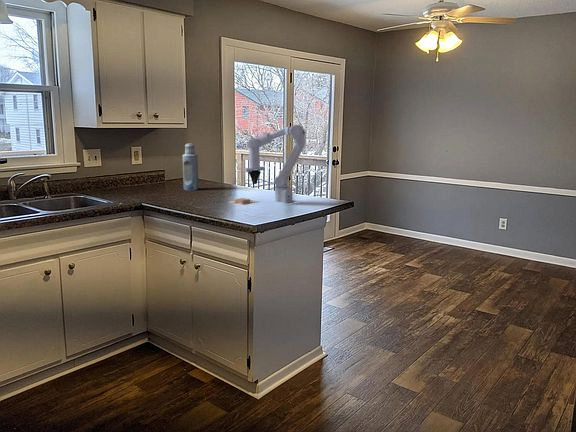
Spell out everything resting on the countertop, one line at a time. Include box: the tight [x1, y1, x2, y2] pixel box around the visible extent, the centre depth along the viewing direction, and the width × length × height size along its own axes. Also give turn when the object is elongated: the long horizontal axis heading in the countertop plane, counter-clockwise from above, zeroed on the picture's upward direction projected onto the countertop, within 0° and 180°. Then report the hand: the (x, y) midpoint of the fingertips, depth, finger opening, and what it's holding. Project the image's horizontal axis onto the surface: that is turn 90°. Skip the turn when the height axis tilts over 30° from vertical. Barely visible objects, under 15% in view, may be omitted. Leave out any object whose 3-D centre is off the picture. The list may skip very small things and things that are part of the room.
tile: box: [234, 197, 251, 205], centre depth 270 cm, size 6×2×6 cm
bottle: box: [182, 143, 199, 191], centre depth 319 cm, size 10×10×30 cm
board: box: [228, 199, 260, 206], centre depth 272 cm, size 14×13×1 cm
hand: (254, 183), depth 277 cm, fingers closed
